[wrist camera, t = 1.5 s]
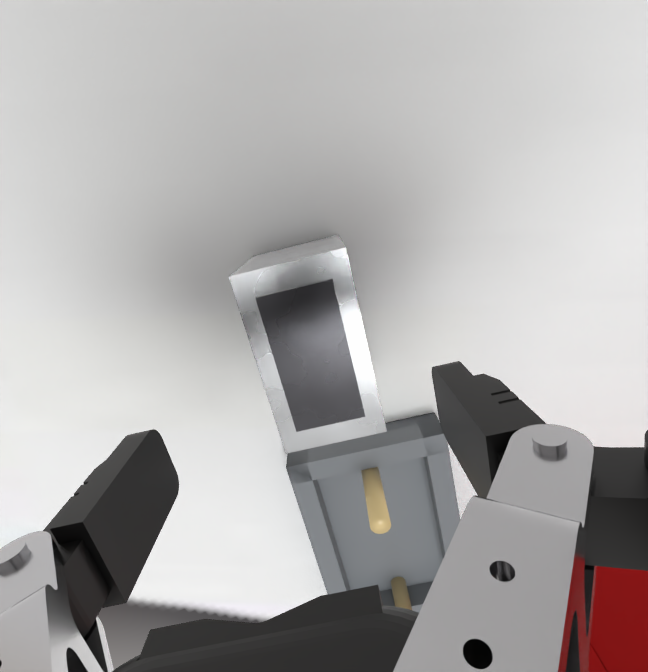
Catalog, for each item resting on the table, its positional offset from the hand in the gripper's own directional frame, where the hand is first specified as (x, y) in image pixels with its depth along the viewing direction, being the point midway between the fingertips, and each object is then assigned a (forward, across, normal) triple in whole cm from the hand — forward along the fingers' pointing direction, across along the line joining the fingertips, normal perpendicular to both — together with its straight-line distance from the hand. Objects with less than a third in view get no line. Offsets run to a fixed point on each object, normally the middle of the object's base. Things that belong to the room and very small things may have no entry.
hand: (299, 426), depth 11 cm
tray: (+11, -2, +14) cm, 18 cm away
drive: (+11, 0, 0) cm, 11 cm away
